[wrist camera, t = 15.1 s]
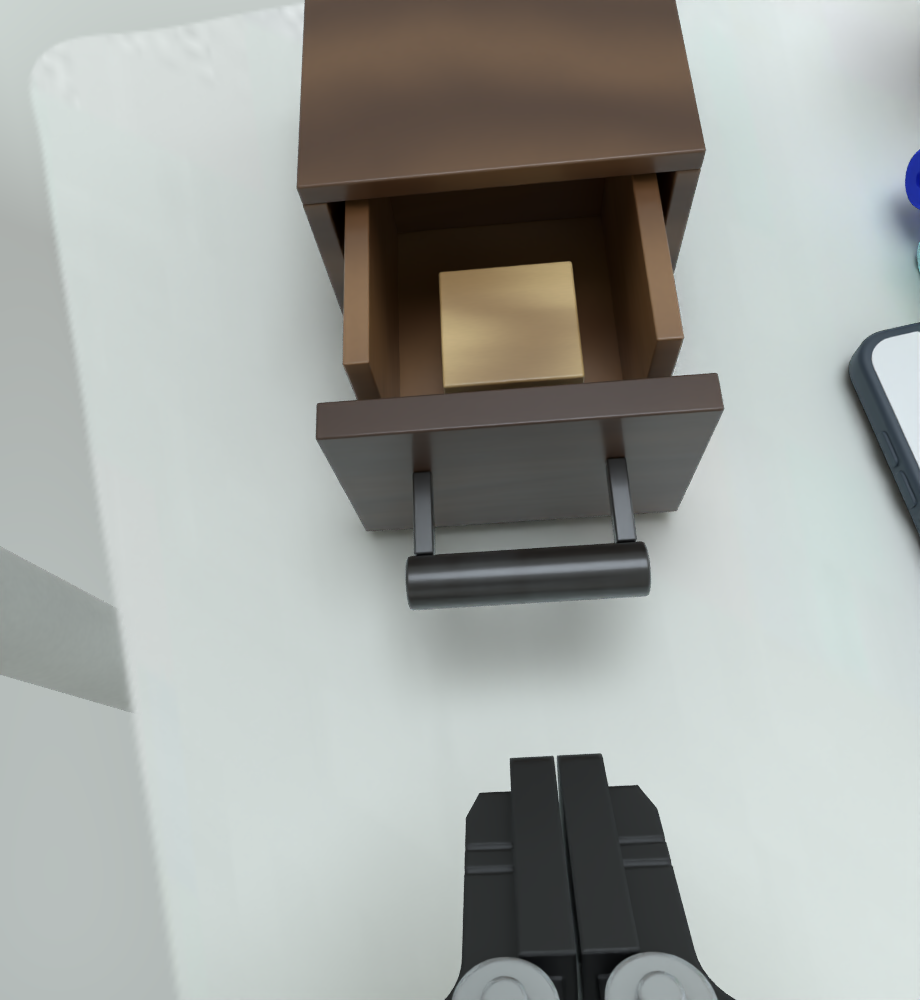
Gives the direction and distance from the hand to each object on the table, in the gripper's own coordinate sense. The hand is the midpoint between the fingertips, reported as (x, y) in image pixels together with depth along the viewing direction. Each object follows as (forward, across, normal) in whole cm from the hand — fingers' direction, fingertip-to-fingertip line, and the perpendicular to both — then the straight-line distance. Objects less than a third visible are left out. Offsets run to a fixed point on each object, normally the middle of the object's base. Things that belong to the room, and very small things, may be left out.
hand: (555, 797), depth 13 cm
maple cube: (+20, 0, -5) cm, 20 cm away
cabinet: (+28, 0, -8) cm, 30 cm away
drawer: (+20, 0, -1) cm, 20 cm away
